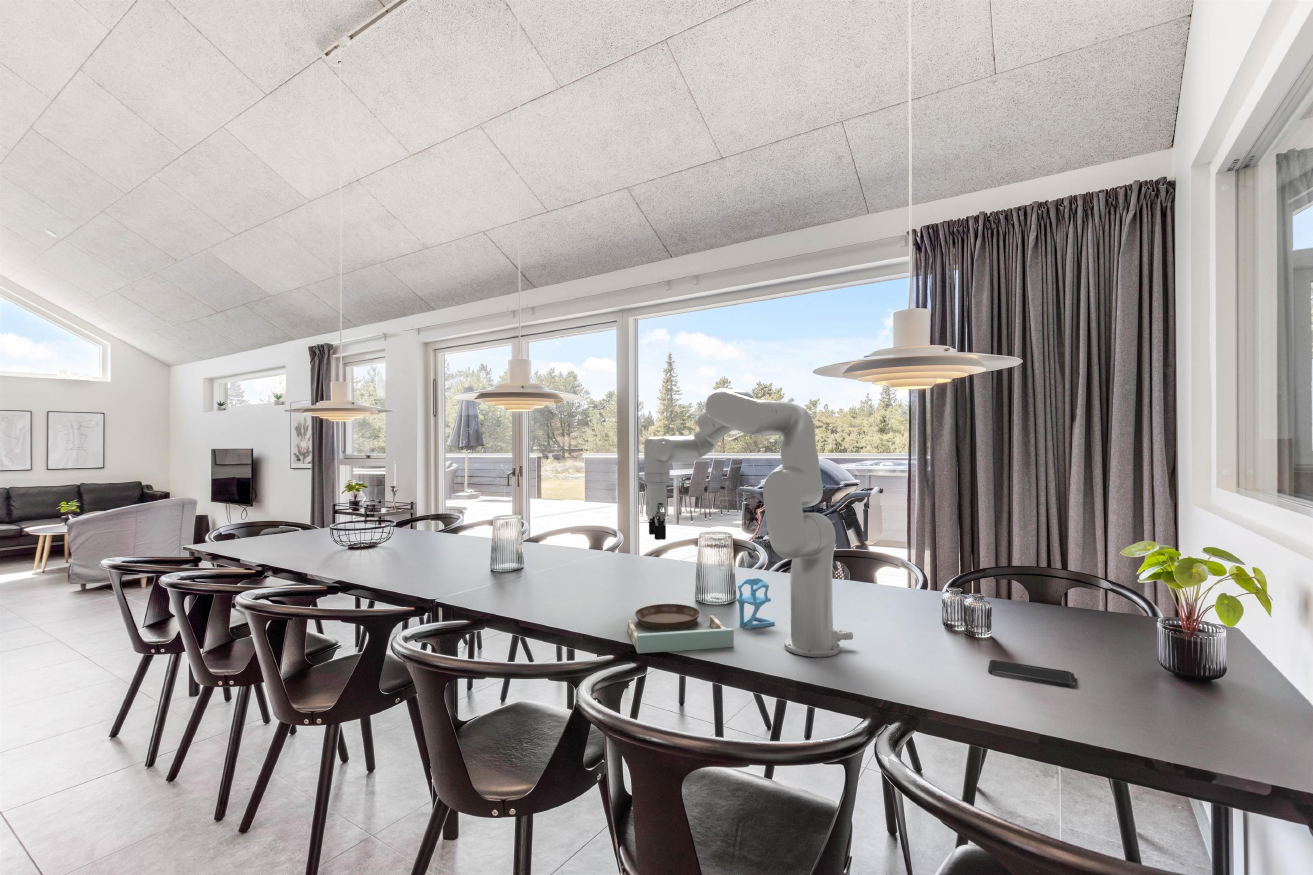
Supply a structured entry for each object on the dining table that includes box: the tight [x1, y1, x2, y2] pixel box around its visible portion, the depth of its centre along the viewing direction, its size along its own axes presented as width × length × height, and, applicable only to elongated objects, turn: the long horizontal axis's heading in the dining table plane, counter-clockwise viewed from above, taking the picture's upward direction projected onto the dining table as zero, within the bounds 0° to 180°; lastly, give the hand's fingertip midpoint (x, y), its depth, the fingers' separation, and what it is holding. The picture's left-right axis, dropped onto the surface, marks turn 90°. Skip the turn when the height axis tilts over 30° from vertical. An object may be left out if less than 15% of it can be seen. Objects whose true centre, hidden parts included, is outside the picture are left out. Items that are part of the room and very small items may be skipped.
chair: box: [735, 578, 776, 630], centre depth 163 cm, size 8×8×12 cm
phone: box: [987, 659, 1076, 689], centre depth 126 cm, size 8×1×15 cm
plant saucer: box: [634, 603, 701, 631], centre depth 166 cm, size 18×18×3 cm
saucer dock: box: [627, 615, 735, 654], centre depth 152 cm, size 18×23×4 cm
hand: (657, 536), depth 181 cm, fingers open, 9 cm apart
